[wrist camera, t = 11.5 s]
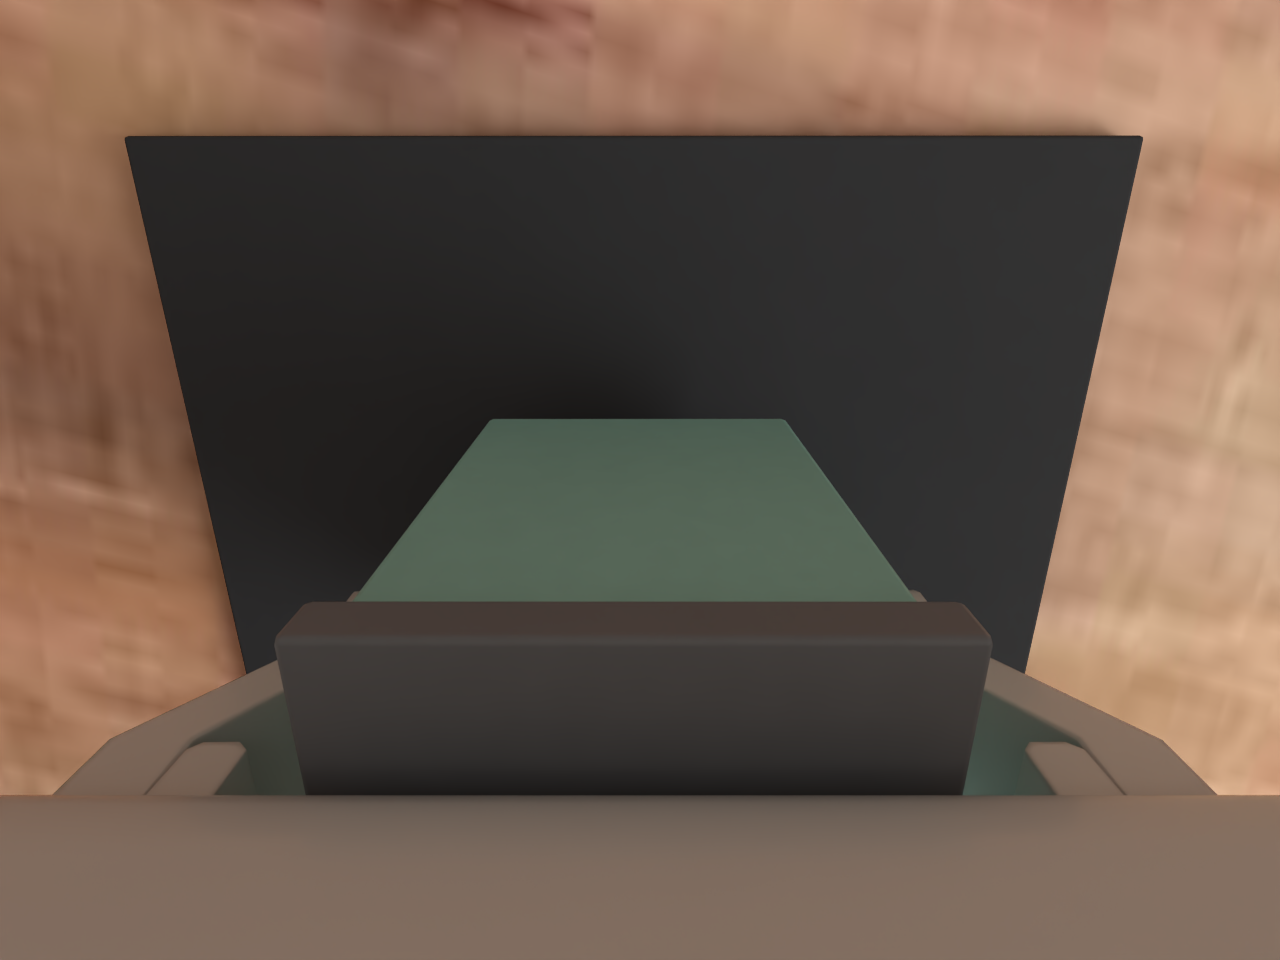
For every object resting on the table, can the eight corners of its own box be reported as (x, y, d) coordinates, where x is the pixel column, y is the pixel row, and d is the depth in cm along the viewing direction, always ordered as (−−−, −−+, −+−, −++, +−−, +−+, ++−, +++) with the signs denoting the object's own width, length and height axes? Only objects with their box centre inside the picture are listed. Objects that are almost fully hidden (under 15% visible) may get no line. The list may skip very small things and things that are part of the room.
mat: (283, 781, 17) (273, 797, 16) (141, 139, 12) (122, 136, 12) (988, 780, 17) (998, 796, 16) (1126, 138, 12) (1145, 135, 12)
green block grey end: (498, 677, 14) (365, 1101, 7) (476, 405, 12) (267, 638, 5) (777, 677, 14) (904, 1101, 7) (799, 405, 12) (997, 639, 5)
